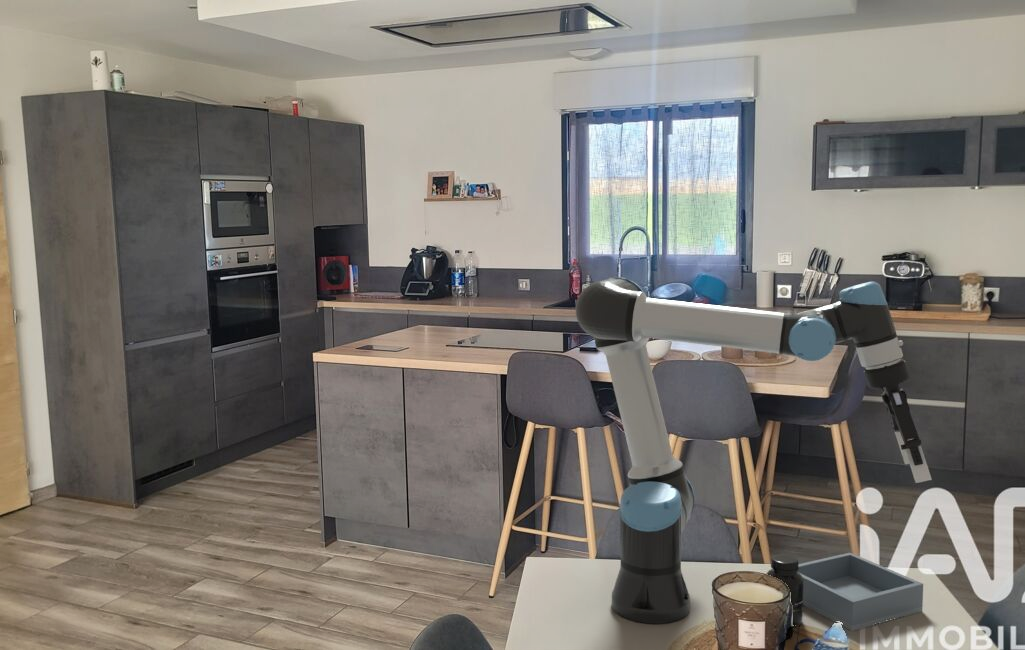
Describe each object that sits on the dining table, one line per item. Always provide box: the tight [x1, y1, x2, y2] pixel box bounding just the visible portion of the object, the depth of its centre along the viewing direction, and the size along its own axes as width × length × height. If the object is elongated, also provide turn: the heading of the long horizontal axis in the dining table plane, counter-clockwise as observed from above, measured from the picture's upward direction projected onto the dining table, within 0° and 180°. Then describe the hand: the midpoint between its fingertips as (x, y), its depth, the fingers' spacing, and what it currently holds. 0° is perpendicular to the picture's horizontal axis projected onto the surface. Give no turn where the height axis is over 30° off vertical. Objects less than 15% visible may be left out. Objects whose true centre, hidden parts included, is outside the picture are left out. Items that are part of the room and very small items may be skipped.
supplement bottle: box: [766, 553, 804, 626], centre depth 160 cm, size 7×7×12 cm
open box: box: [797, 552, 924, 632], centre depth 167 cm, size 18×18×6 cm
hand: (917, 471), depth 160 cm, fingers open, 13 cm apart
